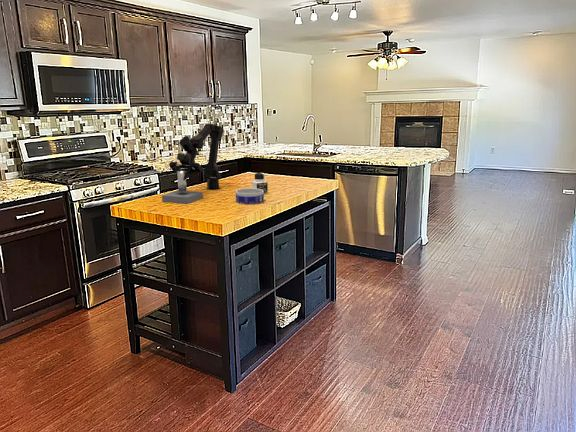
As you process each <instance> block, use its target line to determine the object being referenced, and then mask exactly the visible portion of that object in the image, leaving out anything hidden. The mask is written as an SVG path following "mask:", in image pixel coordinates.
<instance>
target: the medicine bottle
mask: <svg viewBox="0 0 576 432" xmlns="http://www.w3.org/2000/svg"><path fill="white" fill-rule="evenodd" d="M251 182H252V183H251V185H252V186H251V188H256V189H262V190H263V191H264V195H266V194H269V192H268V191H269V187H268V186H269V183H268V181H266V175H265V173H264V172H257V173H256V172H255V174H254V180H252V181H251Z"/></svg>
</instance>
